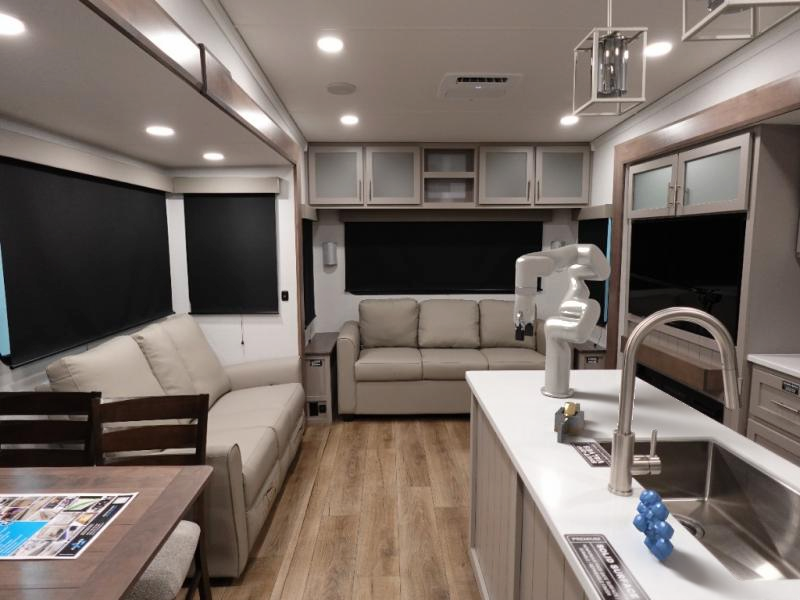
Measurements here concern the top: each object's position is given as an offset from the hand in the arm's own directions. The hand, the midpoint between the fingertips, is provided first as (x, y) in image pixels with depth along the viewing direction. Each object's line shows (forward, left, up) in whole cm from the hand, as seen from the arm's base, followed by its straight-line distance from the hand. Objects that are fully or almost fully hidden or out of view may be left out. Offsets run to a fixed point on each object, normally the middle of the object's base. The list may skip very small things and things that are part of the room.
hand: (524, 338), depth 173 cm
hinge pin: (+12, +20, -26) cm, 35 cm away
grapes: (+66, +49, -26) cm, 86 cm away
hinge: (+12, +20, -26) cm, 35 cm away
